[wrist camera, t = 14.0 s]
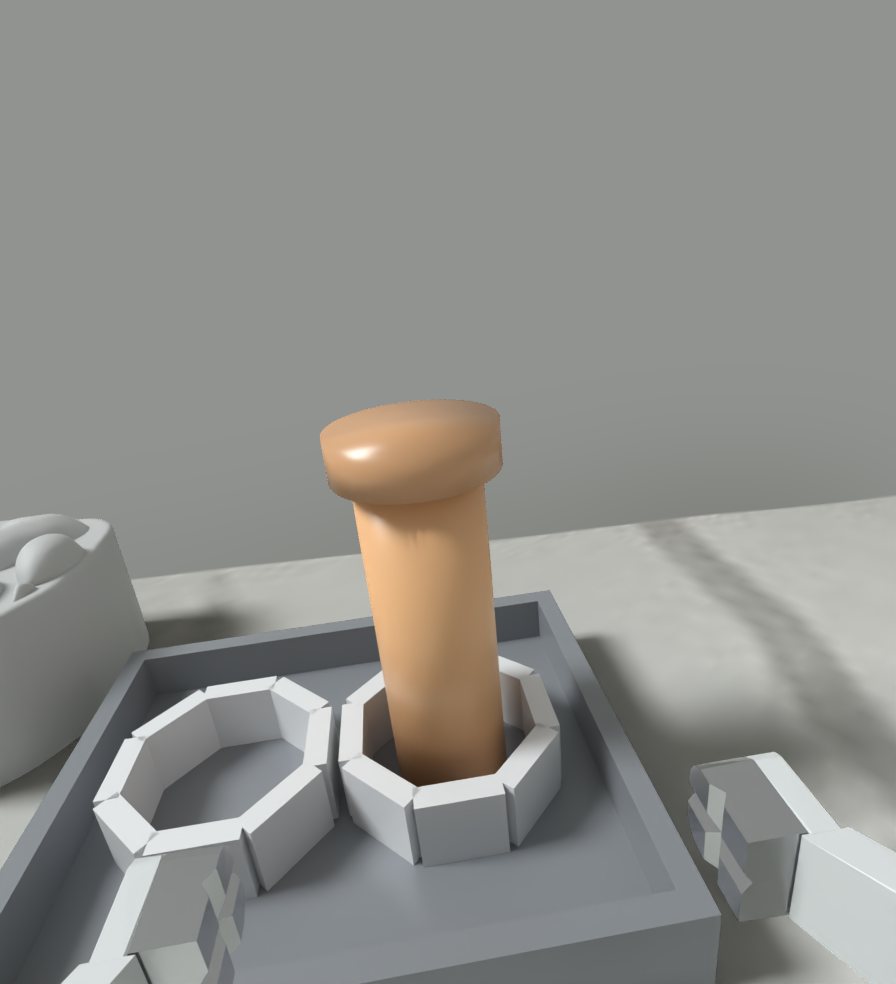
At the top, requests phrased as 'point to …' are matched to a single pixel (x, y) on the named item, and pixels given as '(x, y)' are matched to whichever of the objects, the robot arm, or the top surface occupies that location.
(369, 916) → the tray
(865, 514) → the top surface
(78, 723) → the lumpy-topped squat cylinder
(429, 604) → the round-headed peg
